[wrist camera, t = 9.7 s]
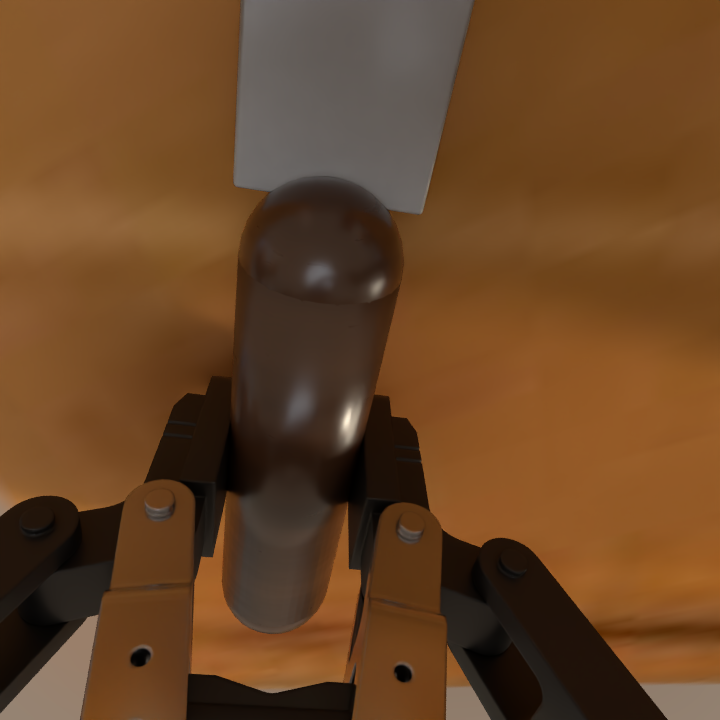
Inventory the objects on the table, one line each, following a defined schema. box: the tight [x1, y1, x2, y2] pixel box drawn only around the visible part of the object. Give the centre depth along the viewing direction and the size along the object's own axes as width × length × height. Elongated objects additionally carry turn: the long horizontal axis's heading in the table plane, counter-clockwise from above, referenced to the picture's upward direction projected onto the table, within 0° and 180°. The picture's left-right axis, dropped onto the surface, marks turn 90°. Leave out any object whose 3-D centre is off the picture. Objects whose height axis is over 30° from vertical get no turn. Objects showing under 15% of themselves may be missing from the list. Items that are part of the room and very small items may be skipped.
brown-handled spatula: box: [222, 0, 475, 634], centre depth 12 cm, size 20×3×3 cm, turn 170°
